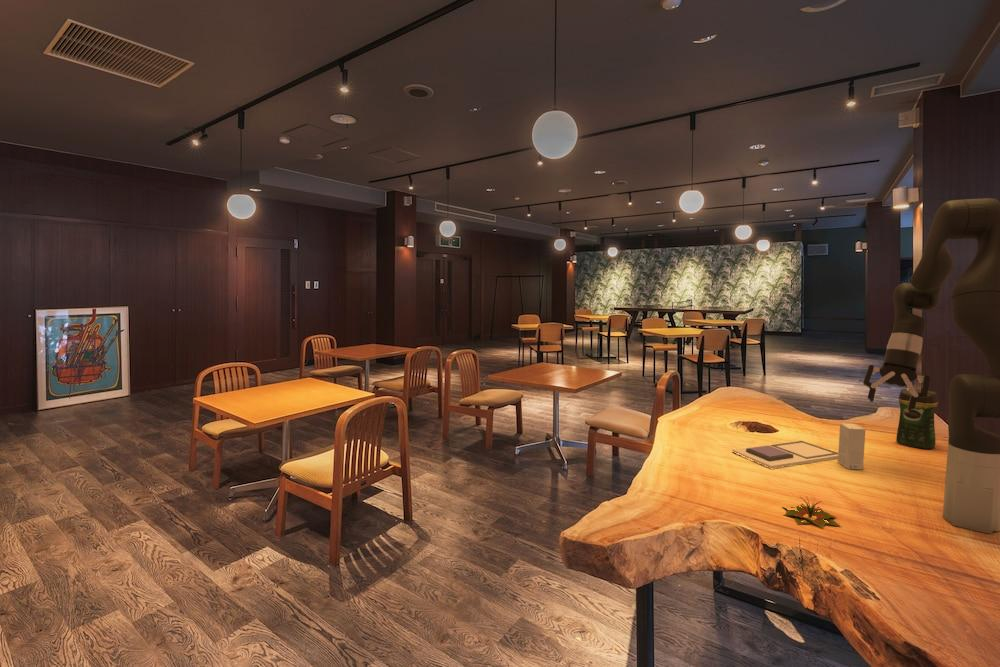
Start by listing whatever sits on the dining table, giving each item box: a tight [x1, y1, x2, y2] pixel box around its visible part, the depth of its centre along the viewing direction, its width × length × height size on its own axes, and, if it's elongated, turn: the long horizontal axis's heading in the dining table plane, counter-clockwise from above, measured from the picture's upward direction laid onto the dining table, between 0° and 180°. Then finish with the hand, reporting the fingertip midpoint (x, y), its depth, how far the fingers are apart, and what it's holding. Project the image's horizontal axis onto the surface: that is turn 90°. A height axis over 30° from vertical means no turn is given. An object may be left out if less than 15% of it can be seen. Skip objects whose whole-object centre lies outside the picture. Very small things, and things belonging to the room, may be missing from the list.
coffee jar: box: [895, 388, 939, 449], centre depth 160 cm, size 10×8×19 cm
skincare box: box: [837, 422, 866, 470], centre depth 143 cm, size 6×4×12 cm
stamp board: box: [731, 440, 838, 468], centre depth 152 cm, size 28×15×2 cm, turn 107°
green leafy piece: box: [783, 497, 843, 530], centre depth 112 cm, size 12×12×5 cm
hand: (889, 406), depth 138 cm, fingers open, 8 cm apart
